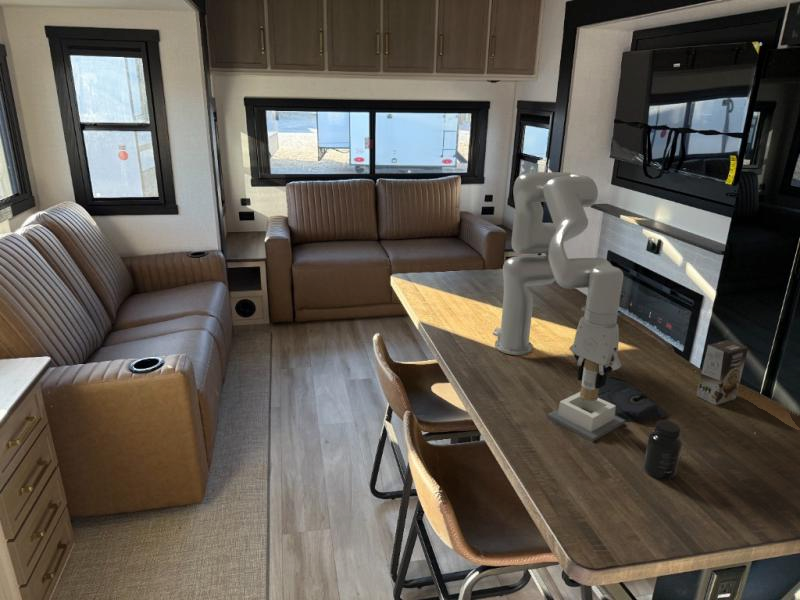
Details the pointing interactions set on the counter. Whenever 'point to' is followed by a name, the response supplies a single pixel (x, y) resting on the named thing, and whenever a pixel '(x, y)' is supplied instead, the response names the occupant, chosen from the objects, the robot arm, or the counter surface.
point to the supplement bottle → (663, 450)
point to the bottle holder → (586, 416)
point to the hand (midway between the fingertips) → (591, 382)
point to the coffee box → (722, 372)
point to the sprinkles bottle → (589, 381)
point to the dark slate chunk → (629, 401)
